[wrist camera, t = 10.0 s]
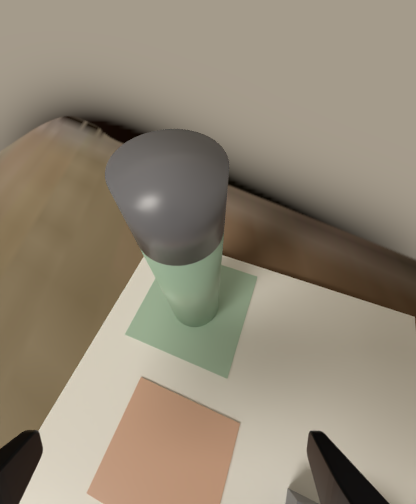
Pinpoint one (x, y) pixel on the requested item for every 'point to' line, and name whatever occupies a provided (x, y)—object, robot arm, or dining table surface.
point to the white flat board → (233, 398)
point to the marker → (176, 213)
